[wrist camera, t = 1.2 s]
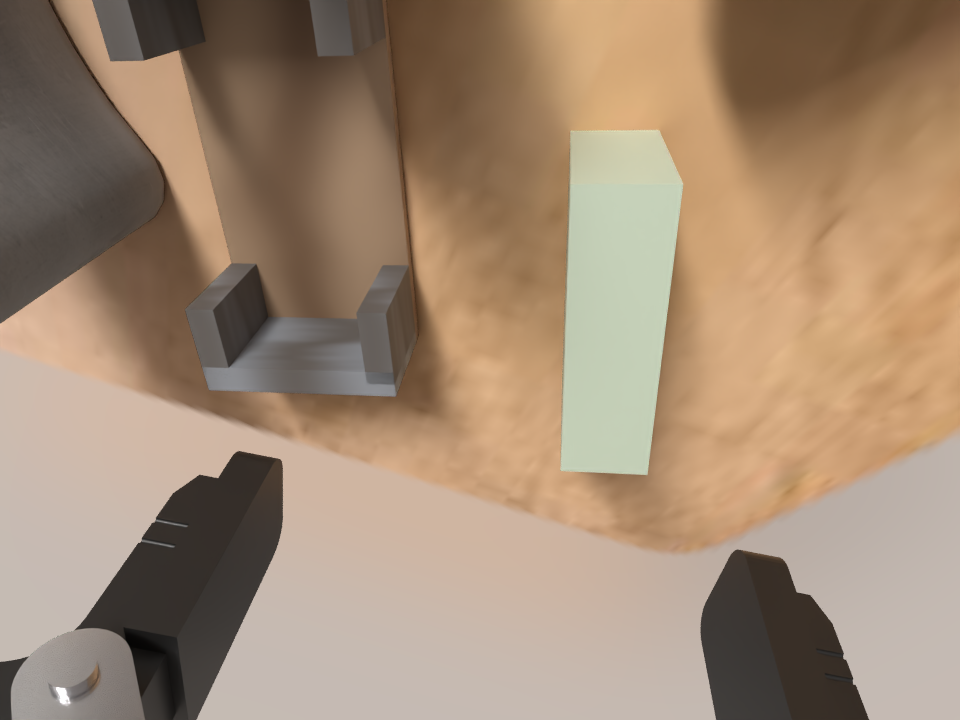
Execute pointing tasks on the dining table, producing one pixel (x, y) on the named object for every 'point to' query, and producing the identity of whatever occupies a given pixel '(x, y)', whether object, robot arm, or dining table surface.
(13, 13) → the flask
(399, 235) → the cradle
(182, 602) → the robot arm
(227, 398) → the dining table surface
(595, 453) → the slat
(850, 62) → the dining table surface
